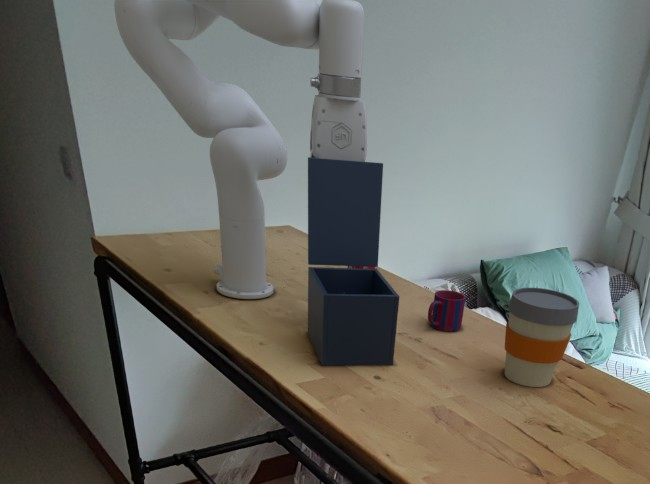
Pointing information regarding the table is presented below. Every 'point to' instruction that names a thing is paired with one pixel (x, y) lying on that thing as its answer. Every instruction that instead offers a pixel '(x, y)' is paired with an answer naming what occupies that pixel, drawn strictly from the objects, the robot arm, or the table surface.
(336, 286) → the chest
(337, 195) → the chest lid
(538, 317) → the reusable coffee cup
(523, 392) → the table surface
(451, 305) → the cup
